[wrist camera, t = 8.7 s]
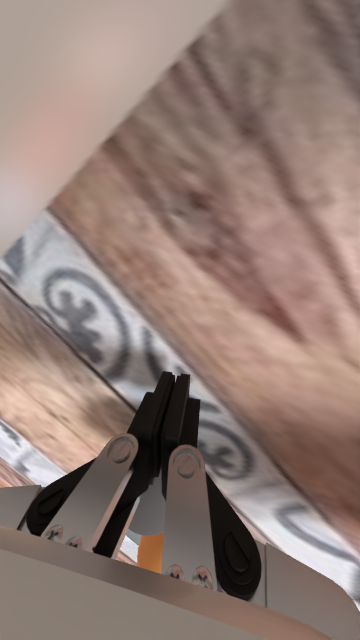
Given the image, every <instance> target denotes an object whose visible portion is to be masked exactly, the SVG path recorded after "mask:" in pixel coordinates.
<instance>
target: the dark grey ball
mask: <svg viewBox="0 0 360 640" xmlns="http://www.w3.org/2000/svg"><path fill="white" fill-rule="evenodd" d="M165 510H166V501H165V499H164V497H163V495H162V479H161V470H160V474H159V477H158V478H157V477H155V478H154V482H153V485H149V487H148V490H147V491H145V492H144V493H143V494H142V495H141V498H140V501H139V504H138V506H137V508H136V511H135V513H134V516H133V518H132V521H131V523H130V525H129V528H128V529H129V530H131V531H132V532H134V533H136V534H139V535H143V536H154V535H159V534H161V533H164V524H165Z"/></svg>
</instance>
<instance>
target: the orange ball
mask: <svg viewBox="0 0 360 640" xmlns="http://www.w3.org/2000/svg"><path fill="white" fill-rule="evenodd" d="M163 538H164V533H161V534H159V535H154V536H143V535H141V538H140V542H139V547H138V556H137V565H138V567H141V568H144V569H147V570H150V571H154V572H157V573H160V574H161V567H162V553H163Z"/></svg>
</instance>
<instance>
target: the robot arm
mask: <svg viewBox="0 0 360 640" xmlns="http://www.w3.org/2000/svg"><path fill="white" fill-rule="evenodd" d="M189 387H190V375H188V374H181V376H177V379H176V382H175V375H172V372H165V371H163V372H162V375H161V377H160V380H159V382H158V384H157V387H156V389H155V391H154V393H152V392H147V393H146V394H145V396H144V398H143V400H142V402H141V404H140V406H139V409H138V411H137V413H136V415H135V417H134V419H133V421H132V423H131V425H130V427H129V429H128V431H127V433H124V434H119V435H117V436H115V437H114V438H112V439H111V440H110V441H109V442H108V443H107V444H106V446H105V447H104V449H103V450H102V451H101V453H100V454H99V456H98V457H97V458H95V459H93V460H91V461H90V462H88V463H86V464H84V465H83V466H81V467H79V468H77V469H76V470H74V471H72V472H70V473H69V474H67V475H65V476H63V477H62V478H60V479H58V480H56V481H55V482H53V483H51V484H50V485H48V486H47V487H41V485H33V486H19V487H5V488H0V640H360V612H359V610H358V608H357V607H356V605H355V603H354V602H353V600H352V599H351V598H350V597H349V596H348V594H347V593H346V592H345V591H344V590H343V588H341V587H340V586H339V585H338V584H336V583H335V582H334V581H332V580H331V579H329V578H327V577H326V576H324V575H322V574H320V573H319V572H317V571H315V570H313V569H312V568H310V567H308V566H306V565H305V564H303V563H301V562H299V561H298V560H296V559H294V558H293V557H291V556H289V555H287V554H286V553H284V552H282V551H280V550H279V549H277V548H275V547H273V546H272V545H270V544H268V543H266V544H265V545H264V544H263V543H261V542H259V541H257V540H256V539H254V538H253V537H252V535H251V533H250V532H249V531H248V529H247V528H246V526H245V525H244V524H243V522H242V521H241V520H240V518H239V517H238V515H237V514H236V513H235V511H234V510H233V509H232V507H231V506H230V504H229V503H228V502H227V500H226V499H225V497H224V496H223V495H222V493H221V492H220V491H219V489H218V488H217V486H216V485H215V484H214V482H213V481H212V480H211V478H210V477H209V475H208V474H207V473H206V471H205V464H204V459H203V457H202V455H201V453H200V452H199V451H198V450H197V437H198V424H199V411H200V400H199V399H193V398H189ZM160 470H161V479H162V495H163V497H164V499H165V501H166V510H165V524H164V538H163V553H162V567H161V574H160V573H157V572H154V571H150V570H147V569H144V568H141V567H137V566H134V565H131V564H128V563H124V562H121V561H118V560H115V559H116V557H117V554H118V552H119V549H120V547H121V545H122V542H123V540H124V537H125V535H126V533H127V530H128V528H129V525H130V523H131V521H132V518H133V516H134V513H135V511H136V508H137V506H138V504H139V501H140V498H141V495H142V494H143V493H144V492H145V491H147V490H148V487H149V485H153V482H154V478H155V477H157V478H158V477H159V474H160Z"/></svg>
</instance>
